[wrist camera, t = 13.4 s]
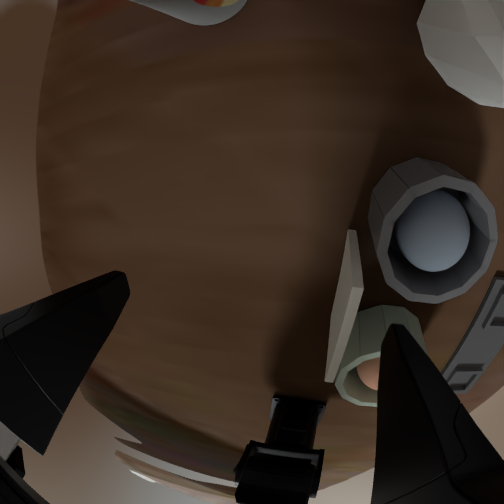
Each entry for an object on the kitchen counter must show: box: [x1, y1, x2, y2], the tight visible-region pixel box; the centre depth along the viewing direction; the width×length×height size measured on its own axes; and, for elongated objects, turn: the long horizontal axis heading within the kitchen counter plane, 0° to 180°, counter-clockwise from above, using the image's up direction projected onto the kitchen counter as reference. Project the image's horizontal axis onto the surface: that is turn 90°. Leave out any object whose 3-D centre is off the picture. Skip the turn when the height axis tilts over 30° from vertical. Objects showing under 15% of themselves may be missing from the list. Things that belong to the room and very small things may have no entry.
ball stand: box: [441, 276, 504, 394], centre depth 20 cm, size 16×6×1 cm, turn 0°
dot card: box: [324, 229, 364, 383], centre depth 18 cm, size 8×1×7 cm, turn 0°
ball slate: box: [395, 189, 470, 272], centre depth 15 cm, size 5×5×5 cm
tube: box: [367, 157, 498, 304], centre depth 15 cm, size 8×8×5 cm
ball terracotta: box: [357, 357, 380, 390], centre depth 20 cm, size 5×5×5 cm
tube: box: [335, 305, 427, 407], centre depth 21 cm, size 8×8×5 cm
